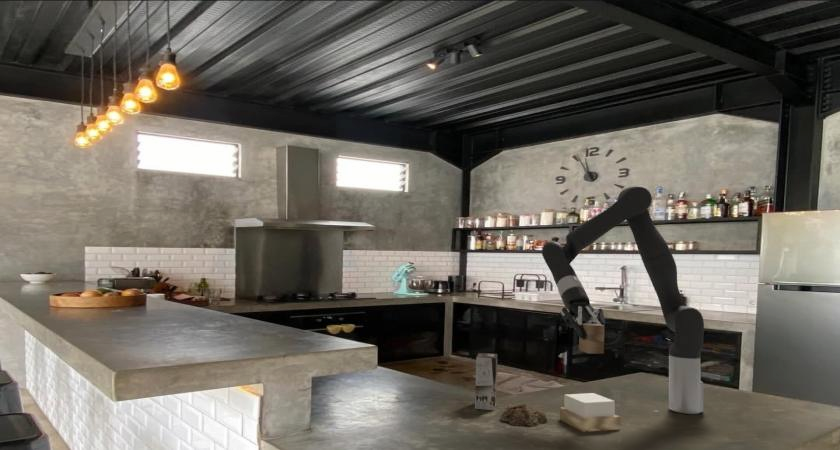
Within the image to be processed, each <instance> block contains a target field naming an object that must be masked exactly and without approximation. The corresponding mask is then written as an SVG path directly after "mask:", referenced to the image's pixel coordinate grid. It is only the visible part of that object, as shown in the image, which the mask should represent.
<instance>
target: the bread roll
mask: <svg viewBox="0 0 840 450" xmlns="http://www.w3.org/2000/svg"><path fill="white" fill-rule="evenodd" d="M500 421H501V422H507V423H509V424H510V425H511V426H515V427H538V426H540V425H543V424H547V422H548V418H547V416H546V414H545V413H544V412H543V411H540V410H539V409H537V408H535V407H533V406H532V405H531V406H530V405H529V404H524V403H514V404H512V405H509V406H507V408H504V410H503V412H502V414H501V415H500Z"/></svg>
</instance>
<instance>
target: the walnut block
mask: <svg viewBox="0 0 840 450" xmlns="http://www.w3.org/2000/svg"><path fill="white" fill-rule="evenodd" d="M582 325H583V327H584V329H585V332H586V334H587V337H586V339H585V340H582V338H580V337H579V336H578V337H579V338H578V341H579V342H578V346H579V347H578V351H580V352H582V353H586V354H589V355H590V354H597V355H598V354H601V355H602V354H604V353H605V335H604V334H605V328H606V327H605V326H606V325H605V324H604V325H600V324H596V323H595V322H594V323H587V322H584V323H583V322H582Z"/></svg>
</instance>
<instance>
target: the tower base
mask: <svg viewBox="0 0 840 450" xmlns="http://www.w3.org/2000/svg"><path fill="white" fill-rule="evenodd" d="M559 420H560V421H562V422H563V423H566V424H567V425H569V426H571V427H573V428H575V429H577V430H579V431H580V432H583V433H584V432H586V431H587V432H601V430H602V431H615V430H617V431H618V430H621V416H620V415H618V414H615V416H601V417H586V418H584V417H582V416H580V415H577V414H575V413H573V412H571V411H569V410H567V409H565V408H564V407H563V406H562V407H559Z"/></svg>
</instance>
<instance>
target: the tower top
mask: <svg viewBox="0 0 840 450" xmlns="http://www.w3.org/2000/svg"><path fill="white" fill-rule="evenodd" d="M563 400H564V401H563V402H564V408H565V409H567V410H569V411H571V412H573V413H575V414H577V415H580V416H582V417H584V418H586V417H601V416H615V415H616V413H615V411H616V410H615V409H616V406H615V405H616V403H615V400H614V399H611V398H609V397H608V398H607V397H605V396H602V395H600V394H597V393H595V392H588V393H587V392H586V393H571V394H569V393H568V394H567V393H566V394H564V398H563Z"/></svg>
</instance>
